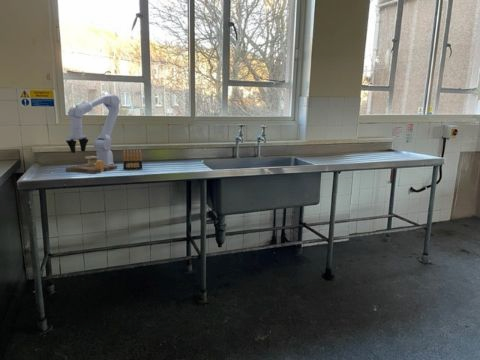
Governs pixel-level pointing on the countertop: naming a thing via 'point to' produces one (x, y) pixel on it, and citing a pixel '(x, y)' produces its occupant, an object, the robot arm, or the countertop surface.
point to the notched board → (90, 168)
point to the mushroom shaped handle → (91, 161)
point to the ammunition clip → (132, 160)
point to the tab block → (100, 165)
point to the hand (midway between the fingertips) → (78, 152)
